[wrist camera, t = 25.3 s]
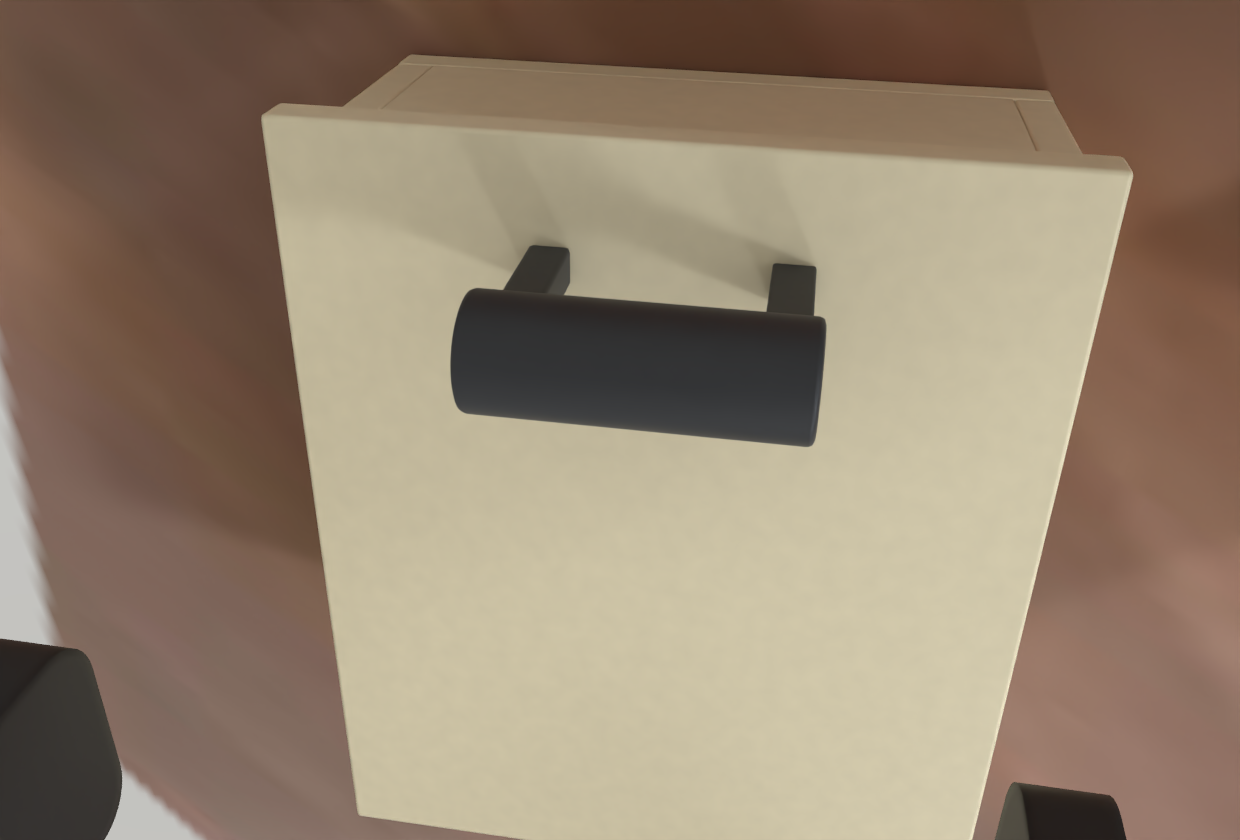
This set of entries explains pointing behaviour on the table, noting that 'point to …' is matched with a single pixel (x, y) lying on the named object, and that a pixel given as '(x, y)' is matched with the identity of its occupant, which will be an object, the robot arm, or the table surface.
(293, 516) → the table surface
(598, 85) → the cream hinged box
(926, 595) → the lid
